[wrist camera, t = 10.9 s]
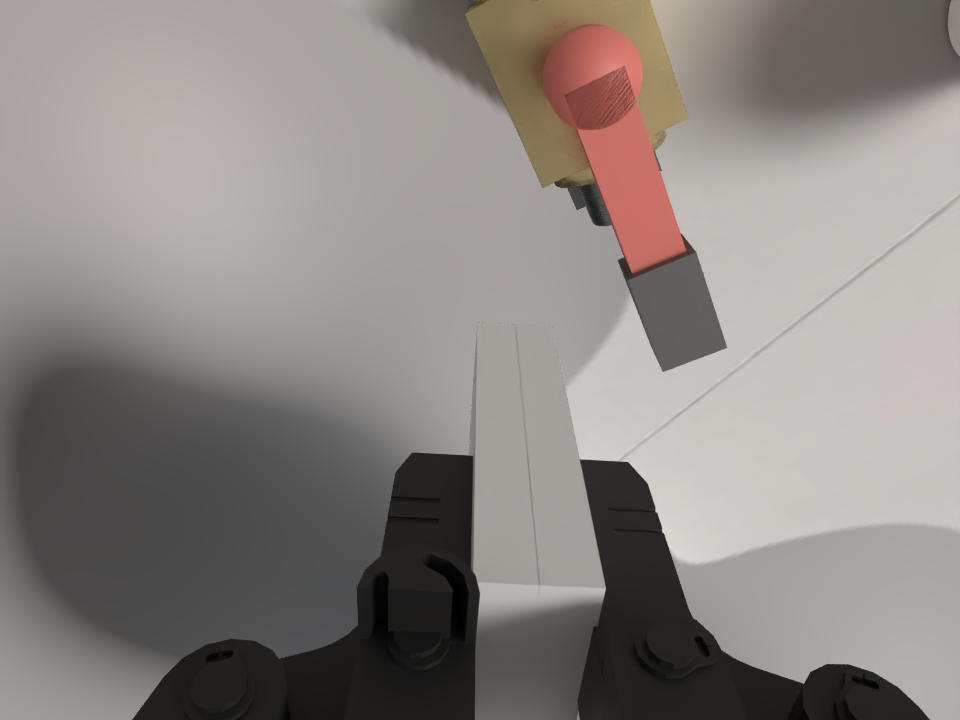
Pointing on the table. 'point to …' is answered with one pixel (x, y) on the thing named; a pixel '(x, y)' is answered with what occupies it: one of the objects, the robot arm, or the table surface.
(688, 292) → the lever
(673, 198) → the table surface
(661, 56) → the valve body
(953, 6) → the cup
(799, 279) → the table surface
